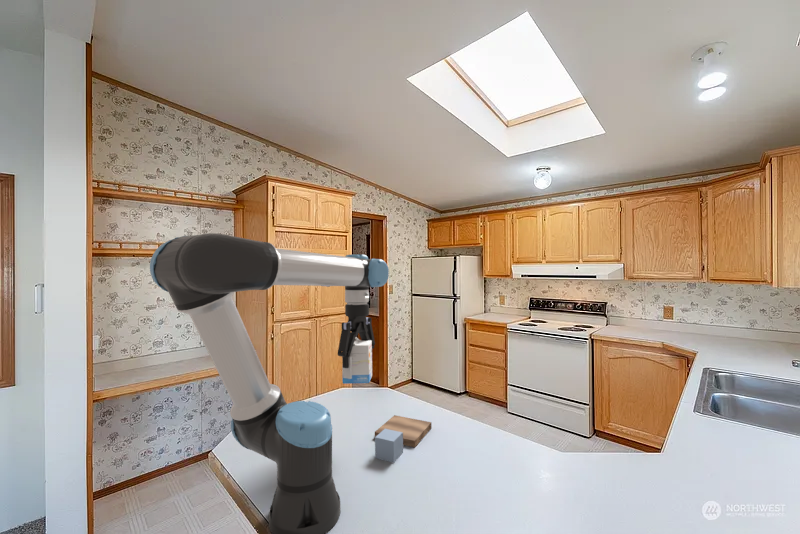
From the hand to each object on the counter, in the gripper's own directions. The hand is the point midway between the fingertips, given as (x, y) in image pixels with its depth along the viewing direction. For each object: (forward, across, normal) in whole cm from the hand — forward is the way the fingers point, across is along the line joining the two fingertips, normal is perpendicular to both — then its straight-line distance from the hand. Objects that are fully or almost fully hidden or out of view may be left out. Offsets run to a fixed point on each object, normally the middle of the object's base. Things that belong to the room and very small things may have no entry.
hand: (357, 373), depth 111 cm
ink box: (+2, 0, 0) cm, 2 cm away
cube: (+21, -4, -13) cm, 25 cm away
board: (+21, +10, -11) cm, 26 cm away
